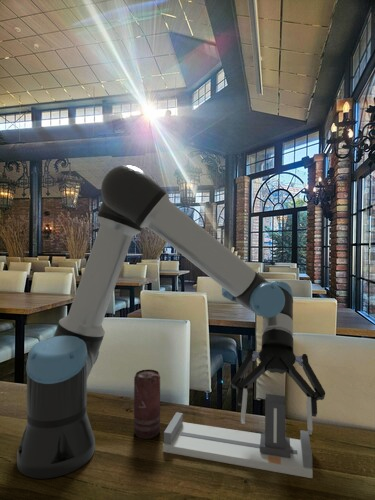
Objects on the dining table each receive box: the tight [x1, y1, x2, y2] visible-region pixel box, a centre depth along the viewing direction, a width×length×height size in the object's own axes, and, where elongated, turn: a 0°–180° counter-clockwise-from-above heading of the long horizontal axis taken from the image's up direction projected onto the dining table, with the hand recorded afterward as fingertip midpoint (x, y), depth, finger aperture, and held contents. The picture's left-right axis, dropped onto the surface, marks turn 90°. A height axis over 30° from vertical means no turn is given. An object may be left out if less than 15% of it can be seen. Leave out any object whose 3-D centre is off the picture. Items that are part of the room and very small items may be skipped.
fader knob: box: [260, 393, 291, 457], centre depth 69 cm, size 6×5×10 cm
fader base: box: [162, 412, 314, 479], centre depth 71 cm, size 30×10×4 cm, turn 75°
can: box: [133, 369, 161, 440], centre depth 78 cm, size 6×6×14 cm
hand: (275, 426), depth 68 cm, fingers open, 13 cm apart
